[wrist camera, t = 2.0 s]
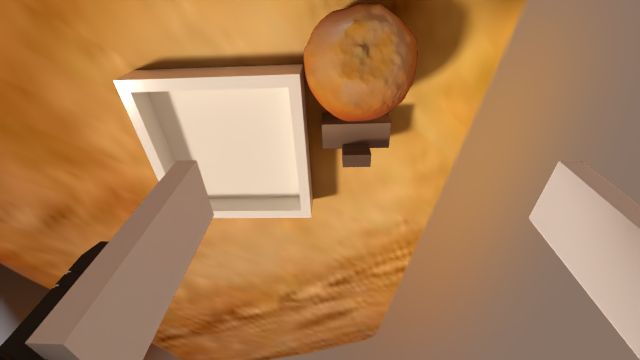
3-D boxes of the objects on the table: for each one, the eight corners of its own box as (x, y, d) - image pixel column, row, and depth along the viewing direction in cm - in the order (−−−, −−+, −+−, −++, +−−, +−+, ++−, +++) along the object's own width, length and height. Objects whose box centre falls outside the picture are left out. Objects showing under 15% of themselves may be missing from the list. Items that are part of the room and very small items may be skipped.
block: (314, -71, 20) (310, -80, 16) (404, -77, 19) (420, -87, 16) (323, 143, 29) (322, 167, 26) (383, 142, 29) (391, 166, 25)
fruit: (309, 127, 27) (299, 115, 19) (309, 38, 26) (300, -14, 18) (397, 127, 26) (426, 115, 19) (400, 37, 26) (431, -16, 18)
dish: (133, 70, 26) (113, 80, 23) (302, 64, 25) (299, 74, 22) (186, 200, 34) (175, 218, 32) (312, 199, 34) (311, 217, 31)
